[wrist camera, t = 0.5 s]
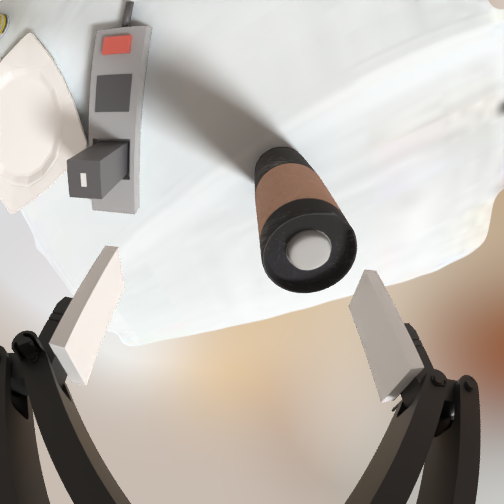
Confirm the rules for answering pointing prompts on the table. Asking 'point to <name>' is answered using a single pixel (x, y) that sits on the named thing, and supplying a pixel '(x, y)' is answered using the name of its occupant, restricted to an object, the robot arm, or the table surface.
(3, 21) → the supplement bottle
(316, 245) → the travel mug
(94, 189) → the block
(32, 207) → the table surface
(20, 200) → the plate
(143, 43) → the power strip
